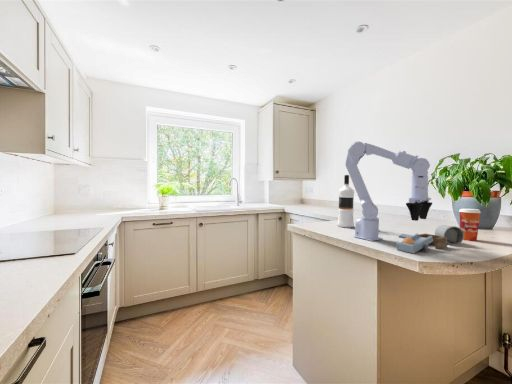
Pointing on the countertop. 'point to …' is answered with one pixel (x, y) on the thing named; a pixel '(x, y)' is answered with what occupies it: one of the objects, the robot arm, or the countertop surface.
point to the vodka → (346, 205)
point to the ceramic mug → (450, 234)
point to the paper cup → (469, 223)
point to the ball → (408, 241)
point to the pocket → (436, 240)
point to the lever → (418, 243)
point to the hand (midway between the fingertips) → (419, 219)
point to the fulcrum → (424, 249)
